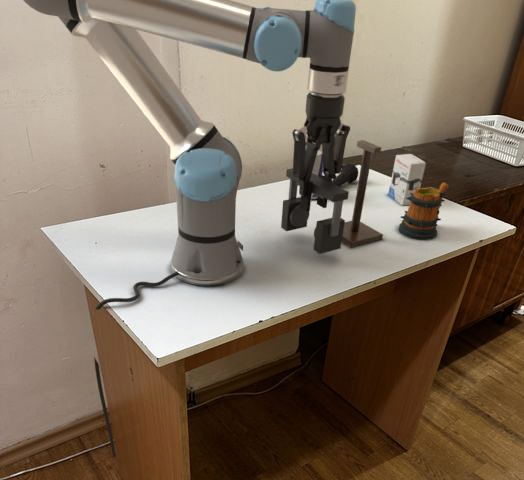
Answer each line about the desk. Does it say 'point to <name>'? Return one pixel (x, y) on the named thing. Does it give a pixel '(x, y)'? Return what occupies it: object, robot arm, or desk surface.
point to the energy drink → (317, 168)
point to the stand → (361, 204)
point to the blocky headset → (295, 217)
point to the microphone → (346, 175)
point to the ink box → (406, 177)
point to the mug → (423, 213)
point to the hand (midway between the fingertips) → (313, 207)
